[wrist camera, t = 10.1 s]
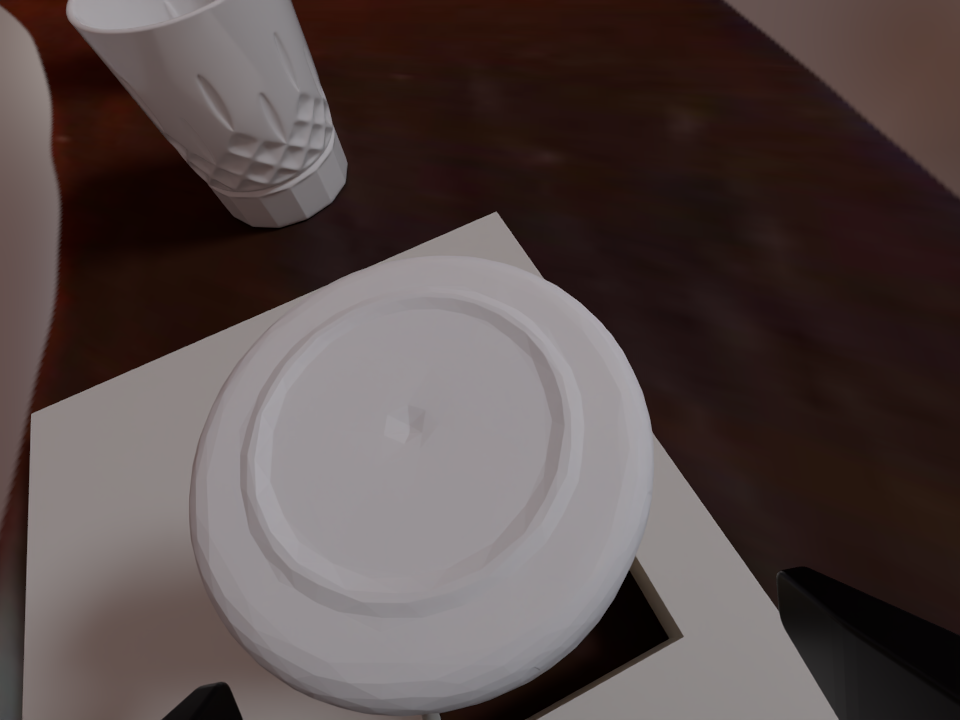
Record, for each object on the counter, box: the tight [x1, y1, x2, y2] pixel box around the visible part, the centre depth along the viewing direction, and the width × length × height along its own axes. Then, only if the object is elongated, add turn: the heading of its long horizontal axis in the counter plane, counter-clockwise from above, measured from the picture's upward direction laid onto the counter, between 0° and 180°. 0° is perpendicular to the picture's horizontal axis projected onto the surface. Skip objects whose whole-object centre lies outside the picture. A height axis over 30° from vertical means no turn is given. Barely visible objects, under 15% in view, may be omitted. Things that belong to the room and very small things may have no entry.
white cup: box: [66, 0, 347, 228], centre depth 23 cm, size 8×8×10 cm
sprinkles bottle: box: [189, 256, 654, 716], centre depth 10 cm, size 5×5×14 cm
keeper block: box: [22, 212, 839, 720], centre depth 17 cm, size 20×20×2 cm
